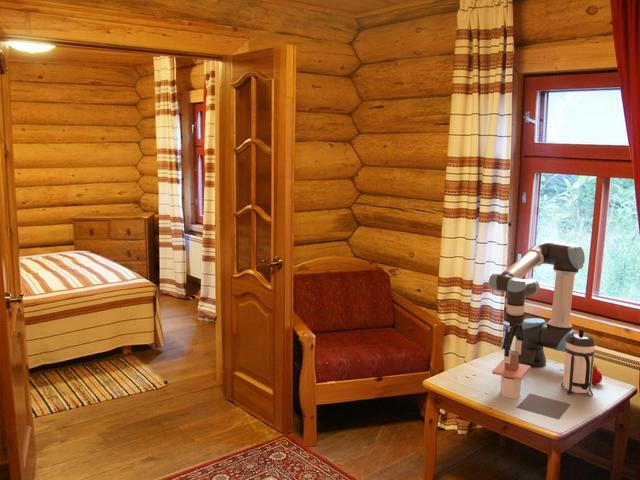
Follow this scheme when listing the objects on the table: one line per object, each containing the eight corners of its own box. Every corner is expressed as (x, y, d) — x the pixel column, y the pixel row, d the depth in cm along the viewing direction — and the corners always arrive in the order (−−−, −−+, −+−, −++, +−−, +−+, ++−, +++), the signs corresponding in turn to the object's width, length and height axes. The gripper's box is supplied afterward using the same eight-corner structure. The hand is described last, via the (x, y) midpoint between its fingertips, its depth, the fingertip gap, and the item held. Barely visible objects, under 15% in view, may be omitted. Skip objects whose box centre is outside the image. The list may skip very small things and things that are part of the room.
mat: (529, 394, 273) (529, 393, 273) (570, 405, 262) (570, 404, 262) (516, 408, 259) (516, 407, 259) (558, 420, 248) (558, 419, 248)
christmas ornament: (584, 379, 289) (585, 360, 288) (600, 381, 287) (601, 361, 286) (586, 385, 283) (588, 365, 281) (602, 387, 281) (604, 367, 279)
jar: (508, 400, 267) (510, 375, 265) (496, 393, 274) (497, 368, 272) (524, 396, 271) (525, 372, 268) (511, 390, 278) (512, 365, 276)
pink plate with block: (502, 362, 279) (502, 344, 277) (530, 368, 271) (531, 349, 269) (492, 373, 269) (492, 355, 267) (520, 380, 262) (521, 361, 259)
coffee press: (551, 390, 278) (555, 328, 272) (571, 382, 287) (575, 322, 281) (586, 403, 264) (591, 339, 258) (605, 394, 273) (611, 332, 267)
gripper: (516, 305, 278) (514, 348, 281) (496, 318, 258) (493, 364, 262) (532, 308, 273) (529, 352, 277) (513, 321, 254) (510, 368, 257)
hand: (512, 358), depth 269 cm, fingers open, 13 cm apart
